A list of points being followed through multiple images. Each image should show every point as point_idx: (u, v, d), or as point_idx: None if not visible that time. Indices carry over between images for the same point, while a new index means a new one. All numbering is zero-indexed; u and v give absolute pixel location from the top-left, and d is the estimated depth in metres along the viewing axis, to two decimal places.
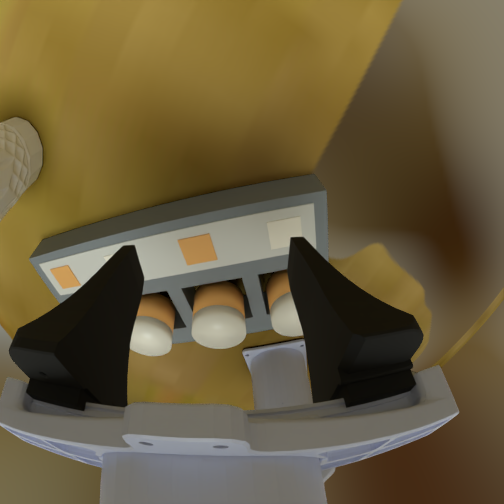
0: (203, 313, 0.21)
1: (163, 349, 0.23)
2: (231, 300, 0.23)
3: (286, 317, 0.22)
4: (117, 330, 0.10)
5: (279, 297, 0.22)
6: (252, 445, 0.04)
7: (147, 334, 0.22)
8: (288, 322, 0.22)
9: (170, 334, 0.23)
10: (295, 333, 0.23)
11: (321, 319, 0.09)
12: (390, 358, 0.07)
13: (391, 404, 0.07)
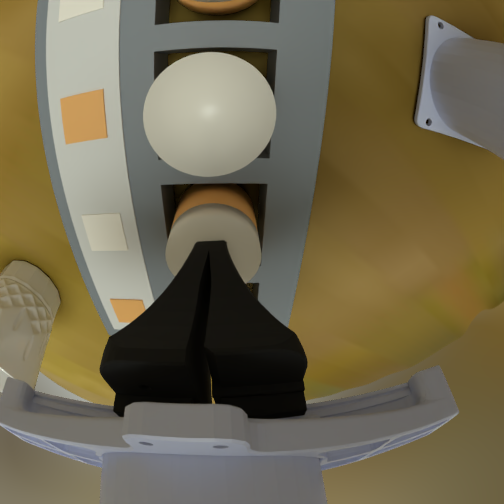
0: None
1: (241, 238, 0.12)
2: None
3: None
4: (205, 330, 0.10)
5: None
6: (252, 445, 0.04)
7: (187, 247, 0.12)
8: None
9: (213, 209, 0.12)
10: None
11: None
12: (268, 377, 0.07)
13: (391, 404, 0.07)
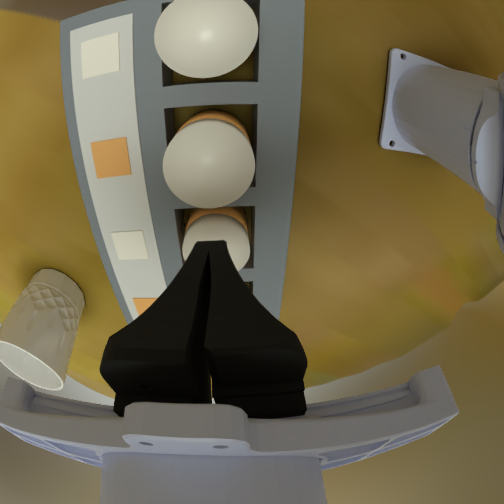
0: None
1: (234, 237, 0.18)
2: (178, 130, 0.13)
3: (189, 53, 0.10)
4: (205, 330, 0.10)
5: None
6: (252, 445, 0.04)
7: None
8: (205, 50, 0.10)
9: (215, 217, 0.18)
10: (246, 39, 0.09)
11: None
12: (268, 377, 0.07)
13: (391, 404, 0.07)
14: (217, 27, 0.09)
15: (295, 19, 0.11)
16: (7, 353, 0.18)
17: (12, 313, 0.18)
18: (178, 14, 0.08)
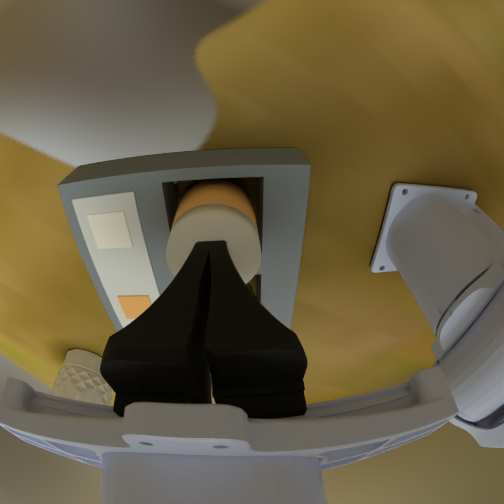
0: None
1: None
2: None
3: None
4: (205, 330, 0.10)
5: None
6: (252, 445, 0.04)
7: None
8: None
9: None
10: (250, 264, 0.13)
11: None
12: (268, 377, 0.07)
13: (391, 404, 0.07)
14: None
15: (299, 197, 0.15)
16: None
17: (58, 394, 0.22)
18: (185, 242, 0.12)
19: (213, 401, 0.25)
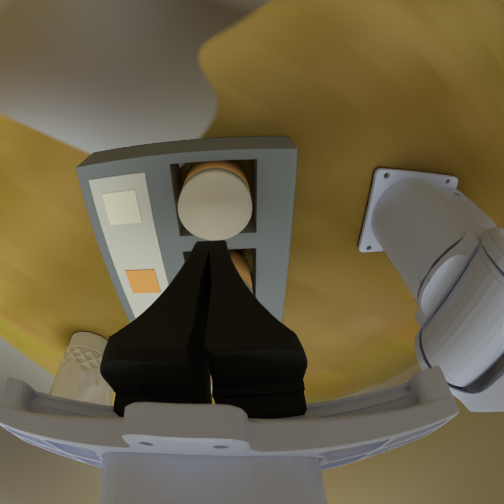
0: None
1: None
2: None
3: (205, 224, 0.17)
4: (205, 330, 0.10)
5: None
6: (252, 445, 0.04)
7: None
8: (216, 222, 0.17)
9: None
10: (244, 214, 0.17)
11: None
12: (268, 377, 0.07)
13: (391, 404, 0.07)
14: (222, 206, 0.17)
15: (288, 177, 0.17)
16: None
17: (63, 374, 0.24)
18: (193, 195, 0.16)
19: None
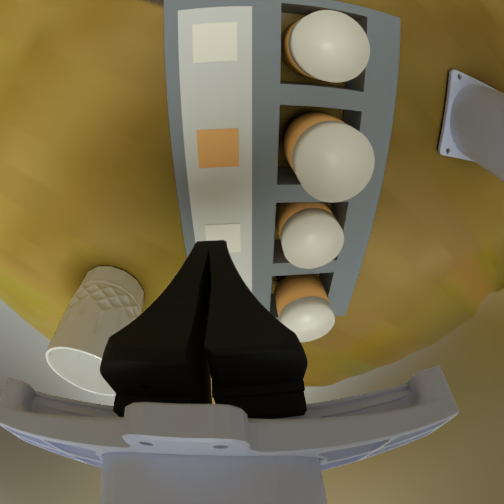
0: (295, 172, 0.15)
1: (333, 230, 0.19)
2: (301, 128, 0.14)
3: (321, 60, 0.12)
4: (205, 330, 0.10)
5: (295, 62, 0.13)
6: (252, 445, 0.04)
7: (299, 237, 0.19)
8: (333, 60, 0.12)
9: (316, 211, 0.19)
10: (361, 57, 0.12)
11: None
12: (268, 377, 0.07)
13: (391, 404, 0.07)
14: (342, 43, 0.11)
15: (393, 40, 0.12)
16: (59, 359, 0.19)
17: (71, 315, 0.19)
18: (313, 26, 0.11)
19: (283, 309, 0.22)
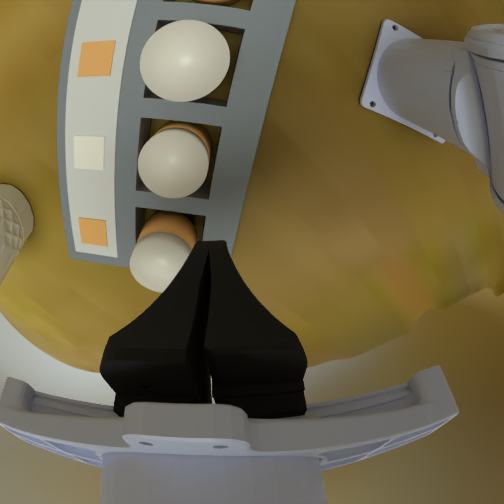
0: None
1: (194, 152, 0.16)
2: None
3: None
4: (205, 330, 0.10)
5: None
6: (252, 445, 0.04)
7: (155, 154, 0.16)
8: None
9: (179, 129, 0.16)
10: None
11: None
12: (268, 377, 0.07)
13: (391, 404, 0.07)
14: None
15: None
16: None
17: None
18: None
19: (137, 243, 0.18)
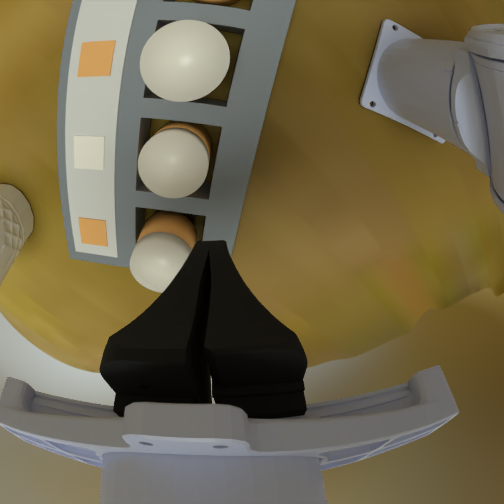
0: None
1: (194, 152, 0.16)
2: None
3: None
4: (205, 330, 0.10)
5: None
6: (252, 445, 0.04)
7: (155, 154, 0.16)
8: None
9: (179, 129, 0.16)
10: None
11: None
12: (268, 377, 0.07)
13: (391, 404, 0.07)
14: None
15: None
16: None
17: None
18: None
19: (137, 243, 0.18)
